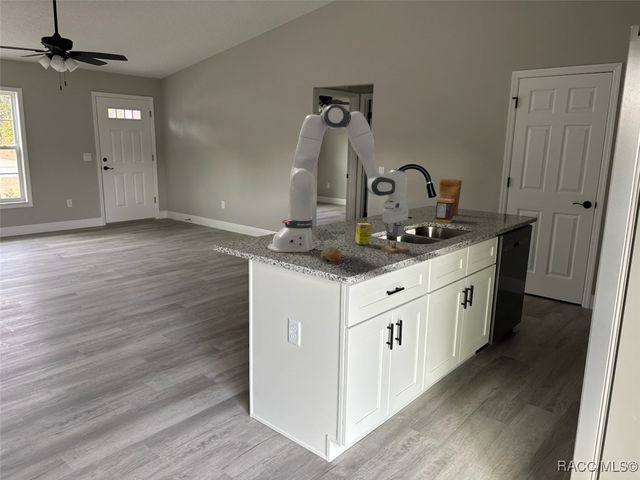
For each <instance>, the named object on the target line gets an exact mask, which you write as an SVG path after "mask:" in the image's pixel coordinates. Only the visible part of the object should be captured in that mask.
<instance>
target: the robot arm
mask: <svg viewBox="0 0 640 480" xmlns="http://www.w3.org/2000/svg"><path fill="white" fill-rule="evenodd" d="M337 129H343V130H344V131H345V133H346V135H347V137H348V140H349V142H350V145H351V146H352V149H353V150H354V152H355V153H356V155H357V156H358V158H359V159H360V162H361V164H362V167H363V170H364V172H365V175H366V188H367V190H368V192H369V193H370V194H373V195H375V196H379V197H384V196H388V197H387V199H386V200H385V201H384V202H383V203H382V207H383V211H382V223H384V224H386V225H388V226H389V232H394V228H393V224H400V225H404V222H405V221H407V220H408V219H409V206H408V204H407V198H408V197H407V190H408V182H409V181H408V174H407V172H406V171H404V170H401V169H397V168H396V169H395V168H393V169H391V170H390V171H387V172H386V173H383V174H381V173H380V171H379V169H378V166H377V164H376V160H375V158H374V148H375V138H374V134H373V132H372V130H371V127H370V124H369V123H368V121H367V119H366V117H365V116H364V114H363V113H362V112H360V111H357V110H356V111H355V110H354V111H348V109H346V108H345V107H344V106H342V105H341V104H338V103H331V104H329V105H327V106H326V107H324V109H323V110H322V112H321V113H320V114H308V115H307V116H306V117H305V118H304V120H303V122H302V125H301V129H300V131H299V136H298V139H297V140H298V141H297V143H296V144H297V145H296V149H295V153H294V158H293V162H292V165H291V170H290V174H289V198H288V199H289V202H288V204H289V205H288V206H289V207H288V219H285V218H284V219H282V220H281V223H282V224H283V225H284V227H283V228H281V229H280V230H278V232H276V233H275V234H274V235H273V239H272V243H269V244H268V245H267V248H268V249H269V250H270V251H272V252H277V253H300V252H302V253H306V252H310V250H313V249H315V246H314V241H313V233H312V232H313V226H314V225H313V224H314V223H313V219H312V215H313V198H314V196H313V195H314V186H315V185H314V184H315V182H314V174H315V171H316V167H317V163H318V160H319V156H320V152H321V148H322V143H323V140H324V135H325V132H326V131H327V130H337Z"/></svg>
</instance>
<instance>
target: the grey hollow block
mask: <svg viewBox="0 0 640 480" xmlns="http://www.w3.org/2000/svg"><path fill="white" fill-rule="evenodd" d="M405 225H406V224H405ZM405 225H404V224H402V225H400V224H398V223H393V228H394V232H389V226H388V224H386V231H385V232H386V233H385V234H386V236H390V237H396V238H397V237H398V238H399V237H402V236H405Z"/></svg>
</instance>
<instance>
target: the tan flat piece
mask: <svg viewBox="0 0 640 480" xmlns="http://www.w3.org/2000/svg"><path fill="white" fill-rule="evenodd" d="M378 249H379V250H381V251H383V252H387V253H389V254H396V253H397V254H398V253H400V254H401V253H410V249H409V248H407V247H404V246H401V245H398V244H397V241H394V240H393V241H391V245H390V244H389V245H388V244H387V245H378Z"/></svg>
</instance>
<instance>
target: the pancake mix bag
mask: <svg viewBox="0 0 640 480" xmlns="http://www.w3.org/2000/svg"><path fill="white" fill-rule="evenodd" d="M462 183H463V180H461V179H452V178H450V179H447V178H440V179H438V183H437V184H438V194H439V198H438V199H440V198H448V199H455V203H454V214H453V217H456V216H457V217H458V216H459V215H458V214H459V205H460V204H459V202H460V197H461V192H462Z"/></svg>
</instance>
